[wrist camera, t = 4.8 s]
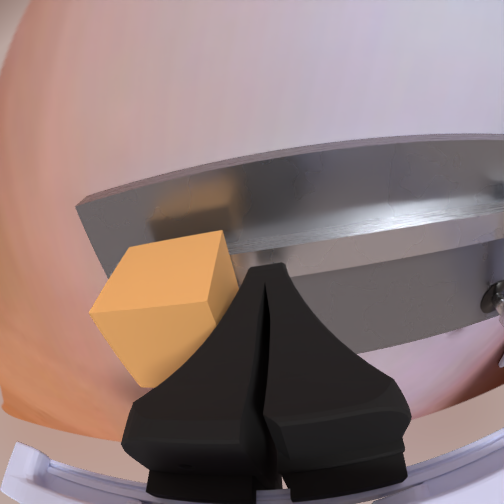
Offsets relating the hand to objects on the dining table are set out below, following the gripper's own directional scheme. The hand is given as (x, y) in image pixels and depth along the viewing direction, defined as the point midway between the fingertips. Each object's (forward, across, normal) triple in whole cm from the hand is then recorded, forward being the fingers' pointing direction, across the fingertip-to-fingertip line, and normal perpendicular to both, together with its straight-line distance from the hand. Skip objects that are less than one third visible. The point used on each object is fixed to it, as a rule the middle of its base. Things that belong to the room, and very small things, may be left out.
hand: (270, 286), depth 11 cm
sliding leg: (+2, +3, +2) cm, 5 cm away
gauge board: (+4, -4, +2) cm, 6 cm away
